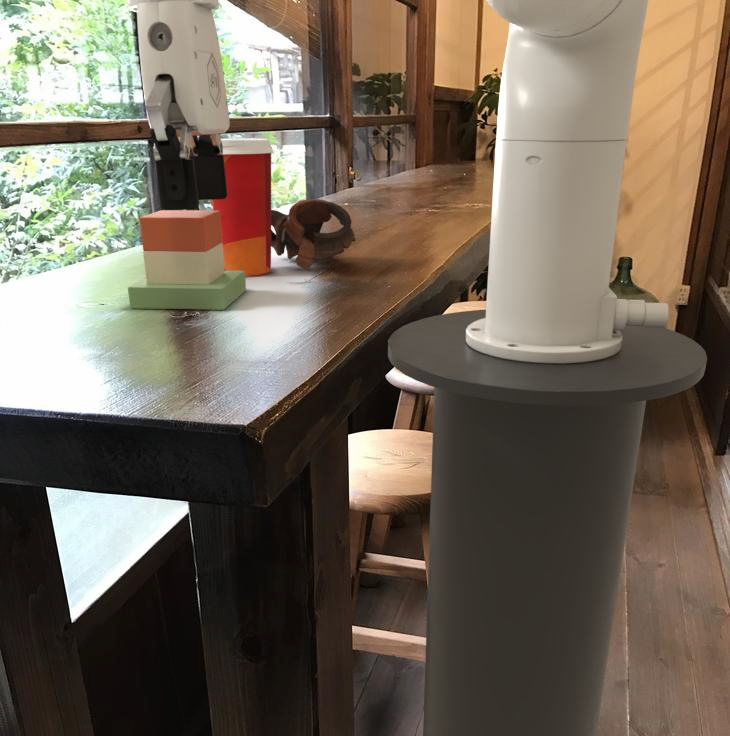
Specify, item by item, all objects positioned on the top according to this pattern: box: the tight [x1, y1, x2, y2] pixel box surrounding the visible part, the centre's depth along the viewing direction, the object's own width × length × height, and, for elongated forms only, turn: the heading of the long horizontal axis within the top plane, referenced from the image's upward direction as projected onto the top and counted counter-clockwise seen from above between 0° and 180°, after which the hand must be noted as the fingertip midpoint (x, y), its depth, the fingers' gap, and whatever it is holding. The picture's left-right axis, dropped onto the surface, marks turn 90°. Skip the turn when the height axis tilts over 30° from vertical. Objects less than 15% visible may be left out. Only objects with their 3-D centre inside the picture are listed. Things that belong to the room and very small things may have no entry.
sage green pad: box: [127, 271, 247, 311], centre depth 79 cm, size 9×9×2 cm
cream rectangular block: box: [142, 243, 225, 285], centre depth 78 cm, size 6×6×3 cm
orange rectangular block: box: [139, 209, 222, 252], centre depth 77 cm, size 6×6×3 cm
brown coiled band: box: [271, 198, 356, 271], centre depth 96 cm, size 12×10×8 cm
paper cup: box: [211, 137, 275, 277], centre depth 90 cm, size 8×8×14 cm
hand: (197, 203), depth 75 cm, fingers open, 9 cm apart
